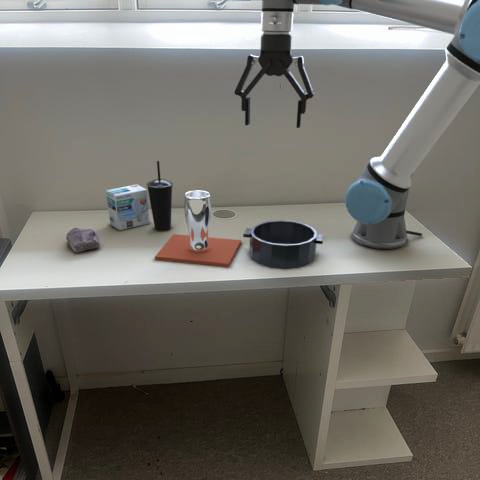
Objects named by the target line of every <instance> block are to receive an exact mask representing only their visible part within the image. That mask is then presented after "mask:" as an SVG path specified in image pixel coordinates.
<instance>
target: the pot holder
mask: <svg viewBox="0 0 480 480" xmlns="http://www.w3.org/2000/svg"><path fill="white" fill-rule="evenodd" d="M209 242H210V249H209V250H208V251H206V252H192V251H190V250H189V249H188V245H189V234H188V235H187V234H177V233H173V234H172V236H171V237H170V238H169V239H168V241H166V242H165V244H164V245H163V246H162V248H161V249H159V251H158V252H157V253H156V255H155V256H154V260H155V261H163V262H172V263H173V262H175V263H183V264H194V265H205V266H214V267H222V268H229V267H230V266H231V264H232V262H233V260H234V258H235V256H236V255H237V252H238V250H239V248H240V246H241V244H242V240H241V239H233V238H221V237H210V236H209Z"/></svg>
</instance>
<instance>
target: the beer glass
mask: <svg viewBox="0 0 480 480" xmlns="http://www.w3.org/2000/svg"><path fill="white" fill-rule="evenodd" d="M184 217H185V222H186V227H187V230H188V231H187V232H188V235H189V245H188V249H189V250H190V251H192V252H206V251H208V250H209V249H210V242H209V237H210V227H211V220H212V201H211V193H210V192H209V191H205V190H190V191H187V192H186V193H184Z"/></svg>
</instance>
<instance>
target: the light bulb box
mask: <svg viewBox="0 0 480 480" xmlns="http://www.w3.org/2000/svg"><path fill="white" fill-rule="evenodd" d="M105 193H106V201H107V210H108V219H109V225H110V226H112V227H114V228H115V229H116V230H118V231H124V230H128V229H131V228H137V227H140V226H144V225H148V224H150V213H149V211H150V210H149V200H148V189H146V188H144V187H142V186H140V185H139V184H138V183H137V184H132V185H131V184H130V185H127V186H122V187H117V188H111V189H106V190H105Z"/></svg>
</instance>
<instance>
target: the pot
mask: <svg viewBox="0 0 480 480" xmlns="http://www.w3.org/2000/svg"><path fill="white" fill-rule="evenodd" d="M242 235H243V238H248V239H249V256H250V258H251V260H252V261H253V262H255V263H257V264H258V265H261V266H265V267H268V268H271V269H281V270H288V269H289V270H290V269H298V268H302V267H305V266H309V265H310V264H311V263H313V262H314V261H315V259H316V252H317V245H323V243H324V237H325V236H324V234H320V233H319V234H318V232H317V230H316V229H315V228H314V227H313V226H311V225H309V224H306V223H303V222H300V221H295V220H284V219H277V220H268V221H263V222H259V223H256V224H255V225H254V226H252V227H251V228H249V227H246V228H245V230H244V232H243V234H242Z"/></svg>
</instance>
